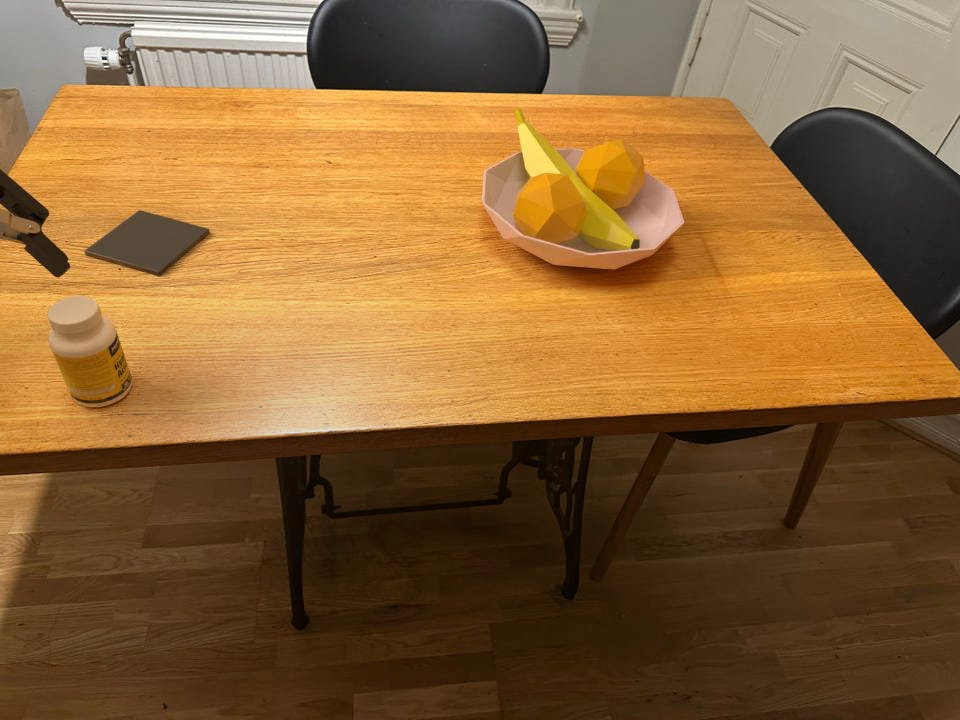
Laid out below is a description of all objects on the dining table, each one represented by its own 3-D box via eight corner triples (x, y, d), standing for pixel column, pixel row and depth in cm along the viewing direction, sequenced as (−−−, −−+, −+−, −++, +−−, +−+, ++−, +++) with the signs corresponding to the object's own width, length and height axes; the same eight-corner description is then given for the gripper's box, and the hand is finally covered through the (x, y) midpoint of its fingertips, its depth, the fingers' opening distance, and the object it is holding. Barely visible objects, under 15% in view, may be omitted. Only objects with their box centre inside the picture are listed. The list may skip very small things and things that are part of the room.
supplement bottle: (137, 400, 66) (109, 322, 59) (73, 415, 64) (37, 336, 57) (130, 363, 70) (103, 285, 63) (70, 376, 68) (35, 297, 61)
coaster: (159, 276, 80) (158, 272, 80) (85, 254, 82) (83, 250, 81) (210, 232, 87) (209, 228, 87) (140, 213, 89) (139, 209, 88)
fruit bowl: (707, 280, 89) (737, 203, 82) (507, 302, 82) (519, 220, 74) (617, 173, 108) (635, 102, 101) (449, 183, 101) (454, 108, 94)
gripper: (-231, 163, 48) (-24, 333, 54) (-55, 89, 58) (103, 239, 64) (-244, 212, 52) (-51, 364, 58) (-78, 136, 62) (71, 271, 68)
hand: (29, 298), depth 61 cm, fingers open, 8 cm apart
